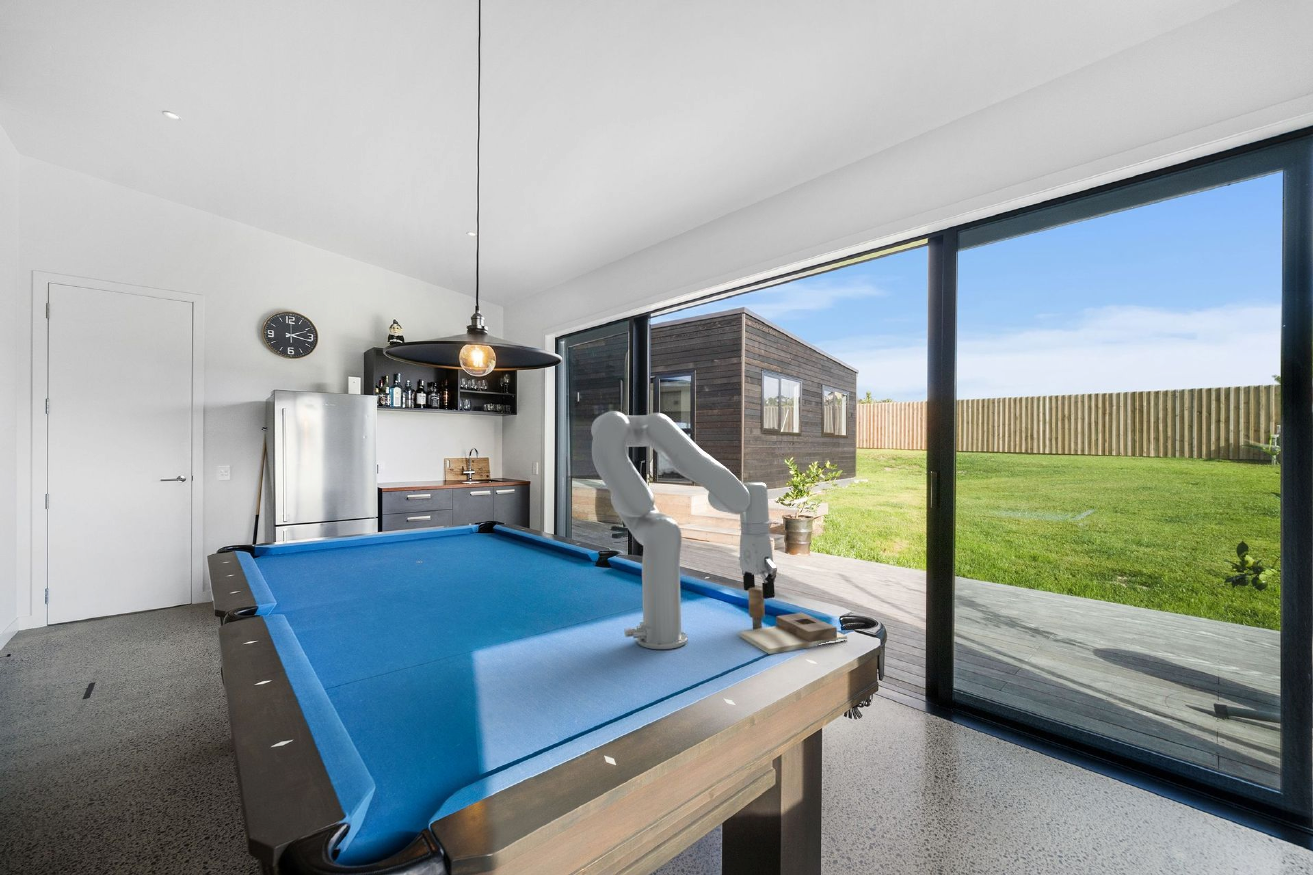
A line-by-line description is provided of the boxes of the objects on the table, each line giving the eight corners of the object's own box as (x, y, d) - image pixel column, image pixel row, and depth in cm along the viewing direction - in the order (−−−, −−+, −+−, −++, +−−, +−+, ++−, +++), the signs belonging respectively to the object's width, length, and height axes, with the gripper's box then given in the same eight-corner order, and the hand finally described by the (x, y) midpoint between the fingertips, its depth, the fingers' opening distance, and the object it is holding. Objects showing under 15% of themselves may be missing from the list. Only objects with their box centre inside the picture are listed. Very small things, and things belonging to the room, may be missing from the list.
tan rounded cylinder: (754, 632, 143) (753, 591, 143) (746, 628, 147) (745, 588, 147) (768, 630, 144) (766, 589, 145) (759, 626, 148) (758, 586, 148)
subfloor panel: (769, 654, 127) (768, 637, 127) (739, 636, 140) (739, 621, 140) (847, 640, 135) (846, 625, 135) (812, 625, 148) (811, 611, 148)
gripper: (727, 526, 153) (730, 588, 153) (759, 534, 137) (764, 603, 137) (750, 524, 156) (754, 585, 155) (785, 531, 140) (789, 599, 139)
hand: (758, 593), depth 146 cm, fingers open, 9 cm apart
